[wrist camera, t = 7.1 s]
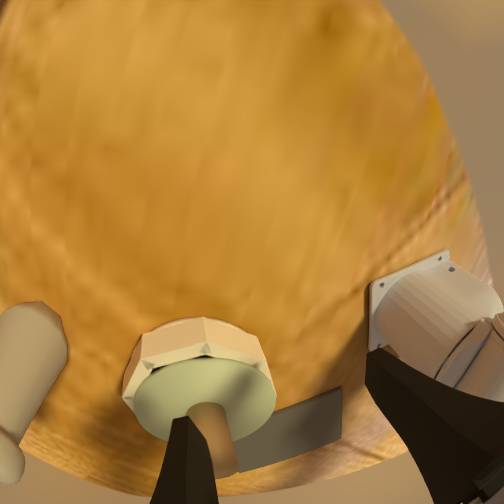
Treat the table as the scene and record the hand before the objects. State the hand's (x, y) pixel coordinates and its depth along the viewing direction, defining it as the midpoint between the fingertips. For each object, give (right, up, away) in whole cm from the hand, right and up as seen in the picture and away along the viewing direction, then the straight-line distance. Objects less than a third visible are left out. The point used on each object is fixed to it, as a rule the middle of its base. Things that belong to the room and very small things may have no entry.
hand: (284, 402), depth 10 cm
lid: (-5, -6, +9) cm, 12 cm away
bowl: (-6, -4, +12) cm, 13 cm away
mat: (+2, -15, +19) cm, 24 cm away
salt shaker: (-17, 0, +7) cm, 18 cm away
